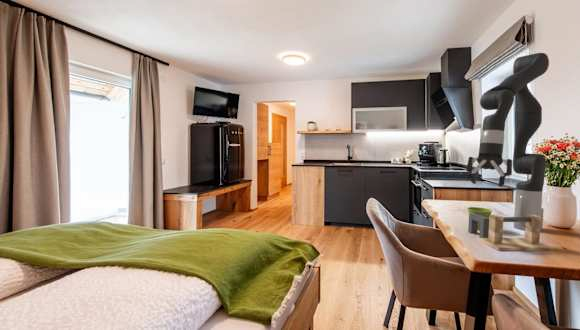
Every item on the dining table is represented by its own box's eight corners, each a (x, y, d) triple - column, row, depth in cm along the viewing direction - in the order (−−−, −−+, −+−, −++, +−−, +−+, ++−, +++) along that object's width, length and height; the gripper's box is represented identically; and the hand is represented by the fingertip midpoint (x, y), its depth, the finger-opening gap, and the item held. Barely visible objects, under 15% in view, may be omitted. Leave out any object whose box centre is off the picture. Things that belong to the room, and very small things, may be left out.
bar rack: (527, 240, 116) (528, 212, 115) (553, 250, 105) (555, 219, 104) (476, 240, 115) (478, 212, 114) (497, 250, 104) (499, 219, 103)
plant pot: (495, 232, 126) (496, 212, 126) (470, 230, 128) (471, 210, 128) (485, 226, 135) (486, 207, 135) (462, 225, 137) (463, 206, 137)
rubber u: (473, 232, 126) (474, 213, 126) (489, 238, 117) (490, 218, 117) (468, 232, 126) (469, 213, 125) (482, 238, 117) (483, 218, 116)
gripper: (516, 144, 112) (511, 187, 112) (473, 143, 122) (468, 183, 122) (512, 142, 106) (507, 187, 106) (467, 141, 116) (463, 182, 116)
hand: (486, 185), depth 114 cm, fingers open, 8 cm apart
